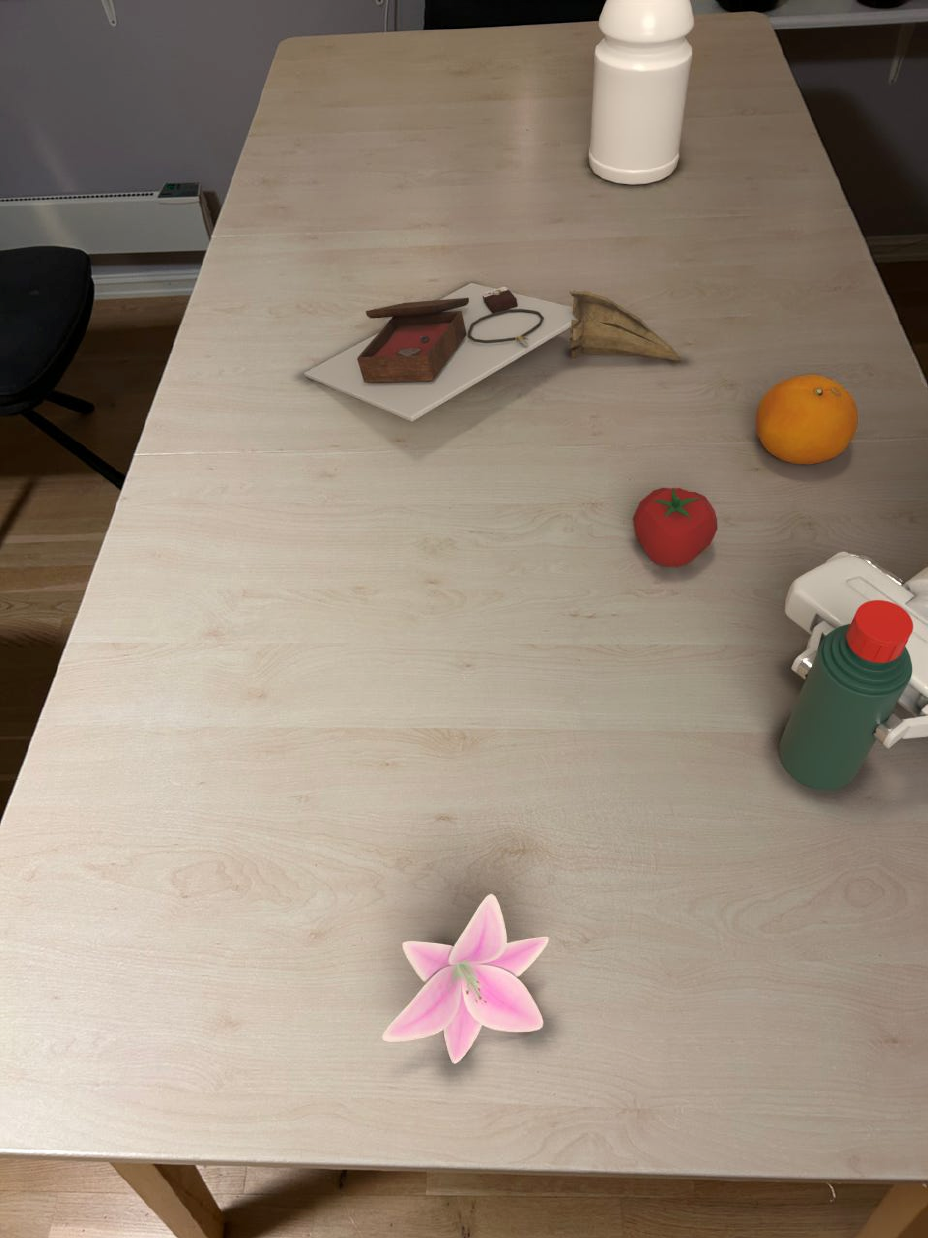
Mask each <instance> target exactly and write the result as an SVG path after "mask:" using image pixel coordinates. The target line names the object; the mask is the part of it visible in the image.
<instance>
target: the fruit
mask: <svg viewBox="0 0 928 1238" xmlns="http://www.w3.org/2000/svg"><path fill="white" fill-rule="evenodd" d="M858 411H859V410H858V407H857V404H856V401H855V399H854V398H853V396H852V395H851V394H850V392H849V391H848V390H847V389H846V388H845V387H843V385H841V384H840V383H839V382H837V381H835V380H833V379H832V378H829V377H826V376H822V375H819V374H813V373H811V374H805V375H796V376H793V377H789V378H787V379H784V380H782V381H780V382H778V383H776V384H775V385H774V386H772V387H771V388H770V389H768V391H766V393H765V394H764V395H763V396H762V398H761V400H760V401H759V403H758V406H757V410H756V414H755V426H756V433H757V436H758V439H759V440H760V443H761V444H762V446H763V447H764V449H765V450H766V451H767V452H768V453H770V455H772V456H774V457H776V458H777V459H779V460H781V461H784V462H786V463H789V464H793V465H814V464H819V463H823V462H827V461H830V460H832V459H834V458H836V457H837V456H839V455H840V454H842V453H843V452H844V451H845V449H846V448H847V447H848V446H849V445H850V443H851V442H852V440H853V439H854V437H855V435H856V432H857V430H858V429H857V428H858V424H859V412H858Z"/></svg>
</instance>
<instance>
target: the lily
mask: <svg viewBox="0 0 928 1238" xmlns="http://www.w3.org/2000/svg"><path fill="white" fill-rule="evenodd" d="M549 940H550V938H549V937H548V936H538V937H531V938H526V939H521V940H520V939H519V940H513V941H510V942H508V935H507V930H506V925H505V920H504V915H503V913H502V908H501V906H500V903H499V901H498V899H497V897H496V895H494V894H493V893H490V894H488V895H487V896H486V897H484V899H483V900H482V902H481V903H480V904H479V906H478V908H477V909H476V911H475V912H474V914H472V917H471V919H470V921H469V922H468V924H467V925H466V927H465V929H464V930H463V932H462V933H461V934H460V936H459V938H458V939H457V940H456V942H455V944H454V945H450V944H446V943H445V944H444V943H437V942H429V941H416V940H407V941H404V942H402V949H403V952H404V955H405V957H406V958H407V960H408V962H409V964H410V965H411V967H412V969H413V970H414V971H415V973H416V974H417V976H418V977H419V978H420V979H421V981H422V982H423V983H424V985H423V987H422V988H420V990H419V991H418V992H417V993H416V995H415V996H414V997H413V998H412V1000H411V1001H410V1002H409V1003H408V1004H407V1006H406V1007H404V1009H403V1010H402V1011H401V1012H400V1013H399V1014H398V1015H397V1017H396V1018H394V1019H393V1021H392V1022H391V1023H389V1025H388V1027H387V1028H386V1029H385V1031H384V1032H383V1033H382V1036H381V1040H382V1041H384V1042H388V1043H398V1042H408V1041H414V1040H419V1039H424V1038H427V1037H430V1036H434V1035H437V1034H439V1033H440V1032H442V1031H443V1037H444V1042H445V1045H446V1049H447V1053H448V1055H449V1056H448V1057H449V1058H450V1061H451V1063H452V1064H455V1065H456V1064H457V1063H459V1062H461V1060H462V1059H463V1058H464V1057H465V1055H466V1054H467V1053H468V1051H469V1050H470V1048H471V1047H472V1045H473V1044H474V1043H475V1041H476V1039H477V1037H478V1035H479V1033H480V1031H481V1029H482V1027H485V1028H488V1029H491V1030H493V1031H499V1032H508V1033H509V1032H510V1033H529V1032H536V1031H539V1030H541V1029H542V1028H543V1027H544V1019H543V1015H542V1013H541V1012H540V1009H539V1007H538V1005H537V1003H536V1001H535V1000H534V998H533V997H532V995H531V993H530V992H529V990H528V989H527V987H526V986H525V984H524V983H523V982H522V981H521V979H519V978H518V977H520V976H521V975H522V974H523V973H524V972H525V971H526V970H527V969H528V968H530V966H531V965H532V964H533V963H535V961H536V960H537V958H538V957H539V956H540V955H541V953H542V952H543V951H544V949H545V948H546V946H547V945H548V944H549Z"/></svg>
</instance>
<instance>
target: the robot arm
mask: <svg viewBox="0 0 928 1238" xmlns="http://www.w3.org/2000/svg"><path fill="white" fill-rule="evenodd" d="M872 600H884V601H889V602H892V603H894V604H896V605H898V606H900V607H901V608H903V609H904V610H905V611H906V612H907V613H908V614H909V615H910V617H911V619H912V622H913V631H912V633H911V635H910V637H909V639H908V642H907V644H906V646H905V647H906V648H907V650H908V652H909V655H910V658H911V662H912V676H911V679H910V681H909V683H908V685H907V686H906V688H905V690H904V692H903V693H902V695H901V697H900V699H899V700H898V702H897V704H899V705H900V706H901V707H903V708H904V709H905V710H906V711H907V712H908V713H910V714H912V716H914V717H909V718H903V719H902V718H900V717H899V716H898V715H896V714H895V713H894V712H892V713H891V714H890V716H889V717H888V718H887V719H886V720H884V721H883V722H881V723H880V724H879V725H878V726H877V727H876V729H875V732H874V733H873V735H872V736H874V737H875V738H876V741H877V740H878V742H879V743H881V744H882V745H883V746H884V747H886V748H887V749H890V748H891V747H893V745H895V744H896V743H897V742H898V741H900V740H901V739H902V740H904V739H916V738H927V737H928V565H927V566H926V567H924V568H923V569H922V570H920V571H919V572H917V574H915V575H914V576H912V577H911V578H910V579H908V580H907V581H905V580H903V579H901V578H900V577H898V576H897V575H895V574H894V572H891V571H890V570H887V569H885V567H882V566H880V565H879V564H878V563H877V561H875V560H874V559H873V558H871V557H870V556H868V555H867V554H860V555H859V554H857V553H853V552H847V551H840V552H837V553H835V554H834V555H833V556H832V557H830V558H829V559H826V561H825V562H824V563H823V564H820V565H818V566H816V567H814V568H813V569H810V570H809V571H807V572H805V573H803V574H802V575H800V576H799V577H797V578H796V579H794V581H793V582H792V583H791V584H790V587H789V588H788V591H787V593H786V598H785V602H784V614H785V616H787V617H788V618H789V619H790V620H791V621H793V622H794V623H796V625H798V626H799V627H801V628H802V629H803V630H805V632H807V633H808V634H809V635H810V637H809V640H808V642H807V646H806V649H805V650H804V651H803V652H802V653H801V654H798V656H797V657H795V659H794V661H793V662H792V666H791V670H792V671H793V672H794V673H795V674H797V675H798V676H800V677H801V678H802V679H803V680H806V678H807V675H808V673H809V671H810V668H811V666H812V663H813V661H814V659H815V656H816V654H817V651H818V649H819V646H820V644H821V642H822V640H823V639H824V637H825V636H826V635H827V634H829V633H830V632H831V631H833V630H835V629H837V628H838V627H841V626H843V625H847V624H851V622H852V620H853V618H854V616H855V613H856V611H857V609H858V608H859V607H860V606H861V605H862V604H864V603H866V602H868V601H872Z"/></svg>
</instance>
